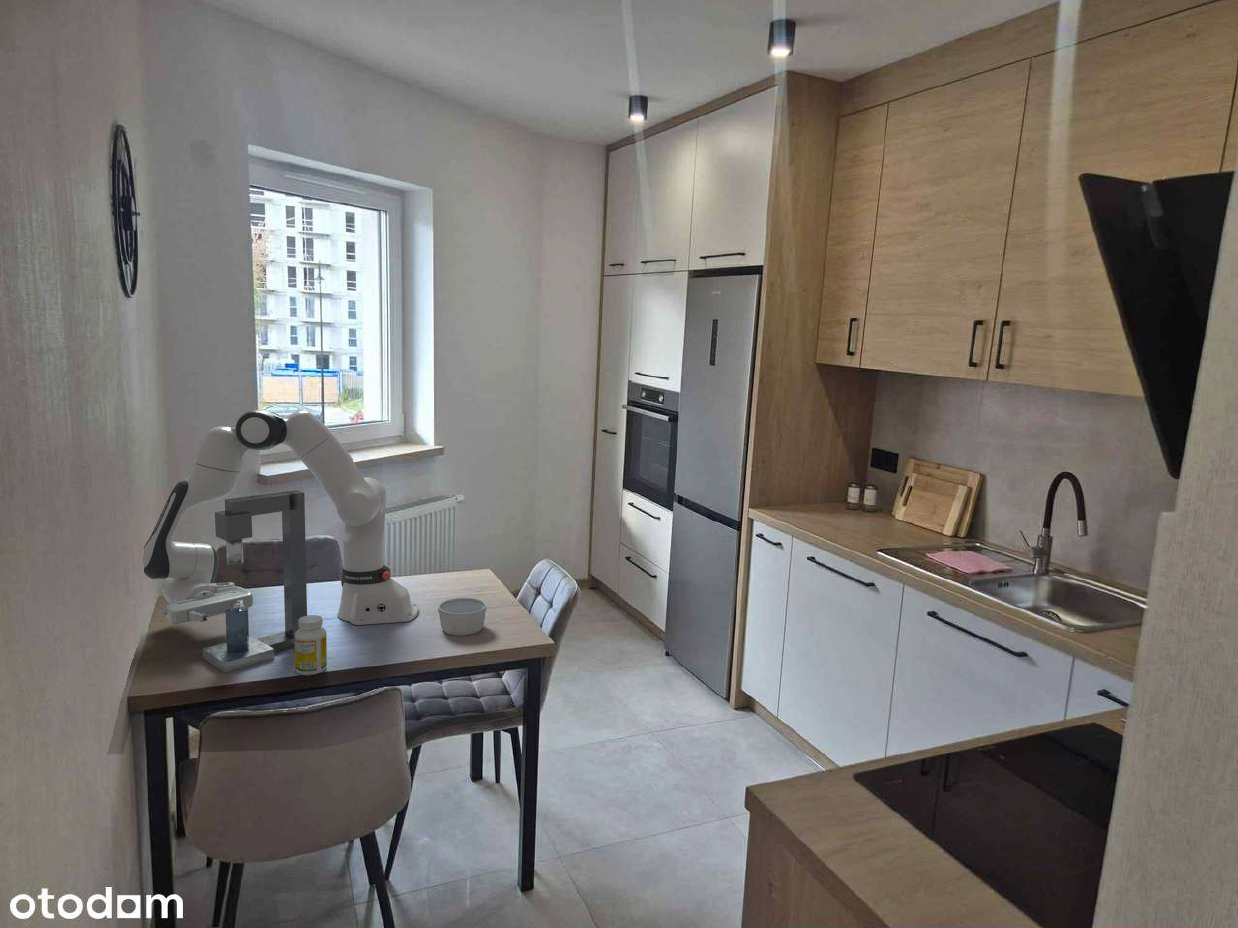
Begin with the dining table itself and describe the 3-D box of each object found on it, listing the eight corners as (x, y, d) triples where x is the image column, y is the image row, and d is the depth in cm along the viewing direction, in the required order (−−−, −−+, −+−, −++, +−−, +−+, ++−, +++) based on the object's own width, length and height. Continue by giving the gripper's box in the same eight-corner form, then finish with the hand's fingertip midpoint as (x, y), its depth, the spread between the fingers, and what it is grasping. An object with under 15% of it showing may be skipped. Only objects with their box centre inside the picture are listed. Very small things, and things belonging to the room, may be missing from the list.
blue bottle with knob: (252, 644, 195) (250, 600, 193) (245, 652, 190) (243, 607, 189) (231, 644, 195) (229, 600, 193) (223, 652, 190) (221, 607, 188)
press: (292, 633, 210) (288, 487, 203) (315, 646, 202) (312, 495, 196) (202, 658, 192) (195, 499, 186) (224, 672, 185) (217, 508, 178)
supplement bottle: (304, 678, 184) (303, 626, 181) (289, 669, 188) (288, 618, 186) (332, 669, 189) (331, 618, 187) (317, 660, 194) (316, 611, 191)
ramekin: (436, 638, 211) (436, 613, 210) (439, 620, 224) (439, 597, 223) (485, 637, 213) (486, 613, 212) (486, 620, 226) (487, 597, 225)
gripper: (155, 597, 196) (178, 611, 187) (238, 580, 212) (262, 592, 203) (157, 621, 197) (179, 636, 188) (238, 602, 213) (263, 616, 204)
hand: (223, 613), depth 196 cm, fingers open, 8 cm apart
